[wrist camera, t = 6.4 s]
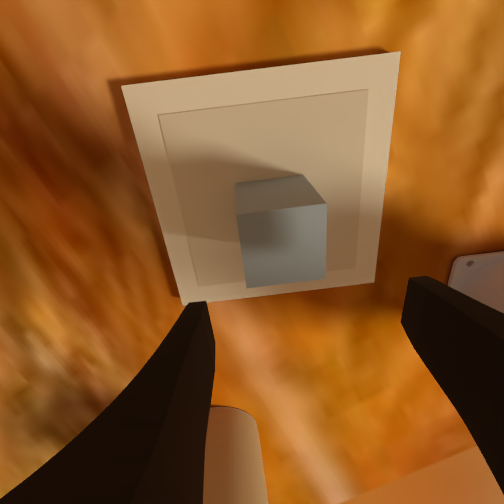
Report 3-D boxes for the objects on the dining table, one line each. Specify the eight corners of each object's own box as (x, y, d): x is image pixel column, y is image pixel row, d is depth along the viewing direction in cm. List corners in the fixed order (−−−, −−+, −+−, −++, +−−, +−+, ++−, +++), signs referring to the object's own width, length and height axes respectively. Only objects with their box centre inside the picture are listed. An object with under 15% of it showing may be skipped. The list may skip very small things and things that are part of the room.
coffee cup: (158, 413, 29) (114, 601, 18) (250, 391, 28) (261, 574, 17) (194, 461, 33) (176, 634, 23) (275, 443, 32) (295, 614, 22)
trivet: (393, 53, 15) (401, 51, 15) (369, 276, 22) (374, 283, 21) (125, 85, 15) (120, 85, 15) (184, 298, 22) (182, 306, 21)
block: (303, 174, 17) (326, 203, 13) (304, 235, 19) (325, 279, 15) (235, 182, 17) (235, 214, 13) (243, 243, 19) (246, 288, 15)
